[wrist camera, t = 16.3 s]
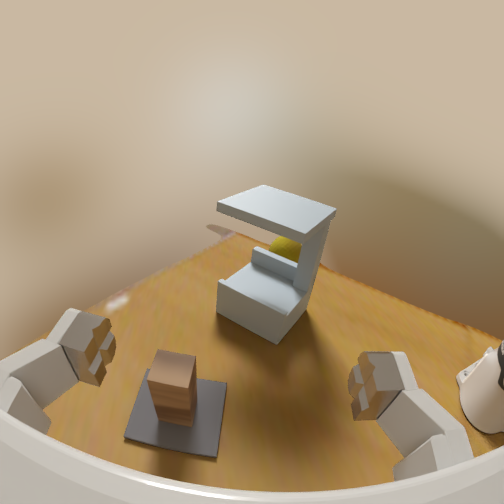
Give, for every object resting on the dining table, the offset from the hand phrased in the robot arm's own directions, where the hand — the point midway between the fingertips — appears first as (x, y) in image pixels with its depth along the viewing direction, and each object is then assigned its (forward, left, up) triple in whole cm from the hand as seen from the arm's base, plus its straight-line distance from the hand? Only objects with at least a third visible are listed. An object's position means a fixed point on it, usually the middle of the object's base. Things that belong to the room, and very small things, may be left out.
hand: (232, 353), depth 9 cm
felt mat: (-1, -14, -30) cm, 33 cm away
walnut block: (-1, -14, -29) cm, 32 cm away
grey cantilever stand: (-21, -29, -30) cm, 46 cm away
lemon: (-34, -41, -30) cm, 61 cm away
